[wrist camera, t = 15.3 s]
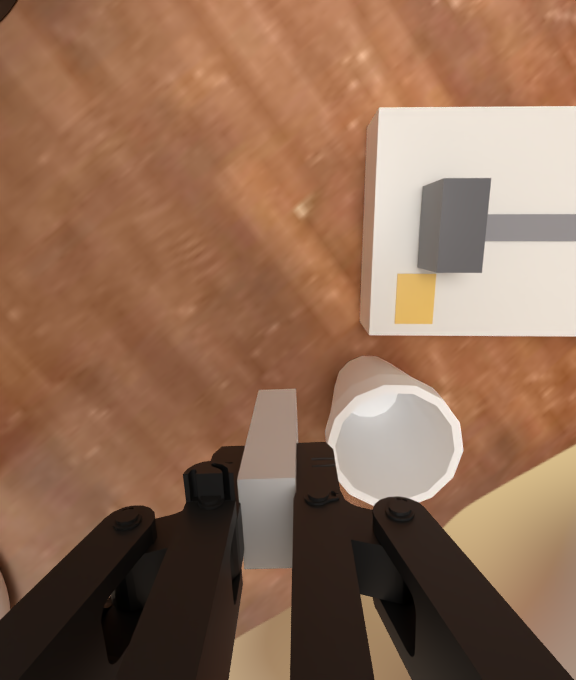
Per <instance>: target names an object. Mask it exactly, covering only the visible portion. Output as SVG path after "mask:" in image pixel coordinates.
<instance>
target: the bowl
mask: <svg viewBox="0 0 576 680" xmlns="http://www.w3.org/2000/svg"><path fill="white" fill-rule="evenodd" d="M9 611H10V602H9V596H8V592H7V588H6V585H5V581H4V579H3V576H2V574H1V571H0V619H2V618H3V617H4V616H5V615H6V614H7V613H8V612H9Z"/></svg>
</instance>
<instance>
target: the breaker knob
mask: <svg viewBox="0 0 576 680" xmlns="http://www.w3.org/2000/svg"><path fill="white" fill-rule="evenodd" d="M490 187H491V178H443V179H441V180H438V181H435V182H433V183H430V184H428V185H425V186H423V191H422V206H421V221H420V236H419V251H418V266H417V268H421V269H425V270H428V271H432V272H436V273H482V267H483V257H484V247H485V237H486V227H487V217H488V207H489V197H490Z"/></svg>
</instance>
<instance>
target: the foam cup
mask: <svg viewBox="0 0 576 680" xmlns="http://www.w3.org/2000/svg"><path fill="white" fill-rule="evenodd" d="M325 437H326V443H327V444H328V445H329V446H330V447H331V448H333V451H334V457H335V463H336V469H337V475H338V481H339V482H340V483H341V485H342V486H343V487H344V488H345V490H346V491H347V492H348V493H349V494H350V495H352V496H354V497H356V498H358V499H360V500H362V501H364V502H366V503H369V504H371V505H373V506H374V504H375V503H377V502H378V501H379V500H380V499H383V498H387V497H396V496H399V497H405V498H409V499H412V500H414V501H417V502H421V501H424V500H426V499H429V498H432V497H433V496H434V495H435V494H436V493H437V492H438V491H439V490H440V489H441V488H442V487H443V486H445V485H446V484H447V483H448V482H449V481H450V480H451V479H452V478H453V476H454V474H455V471H456V469H457V466H458V463H459V461H460V458H461V456H462V453H463V444H462V436H461V427H460V422H459V421H458V420H457V418H456V417H455V415H454V414H453V413H452V411H451V410H450V408H449V407H448V406H447V404H446V403H445V401H444V400H443V399H442V398H441V397H440V395H439V394H438V393H437V392H436V391H435V390H434V388H432V387H430V386H428V385H426V384H424V383H422V382H420V381H418V380H417V379H415V378H413V377H411V376H409V375H408V374H406V373H405V372H403V371H402V370H400V369H399V368H397V367H395V366H394V365H392V364H391V363H389V362H387V361H385V360H383V359H381V358H379V357H377V356H360V357H358V358H356V359H353V360H351V361H348V363H347V364H346V365H345V366H344V367H343V368H342V369H341V370H340V371H339V373H338V377H337V380H336V383H335V387H334V393H333V399H332V406H331V412H330V416H329V419H328V422H327V426H326V429H325Z"/></svg>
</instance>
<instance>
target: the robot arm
mask: <svg viewBox="0 0 576 680" xmlns="http://www.w3.org/2000/svg"><path fill="white" fill-rule="evenodd" d="M15 1H16V0H0V20H1V19H2V18H3V17H4V16H5V15H6V14H7V13H8V11H9V10H10V9H11V7H12V6H13V5H14V3H15ZM183 478H184V487H185V496H186V504H185V506H184V509H183V511H181V512H179V513H176V514H173V515H169V516H165V517H161V518H157V519H155V514H154V511H153V510H152V509H151V508H149V507H145V506H129V507H124V508H122V509H119V510H117V511H115V512H113V513H111V514H110V515H109V516H107V517H106V518H105V519H104V520H103V521H102V522H101V523H100V524H99V525H97V526H96V527H95V528H94V529H93V530H92V531H91V532H90V533H89V534H88V535H87V536H86V537H85V538H84V539H83V540H82V541H81V542H80V543H79V544H78V545H77V546H76V547H75V548H74V549H73V550H72V551H71V552H70V553H69V554H68V555H67V556H66V557H64V558H63V559H62V560H61V561H60V562H59V563H58V564H57V565H56V566H55V567H54V568H53V569H52V570H51V571H50V572H49V573H48V574H47V575H46V576H45V577H44V578H43V579H42V580H41V581H40V582H39V583H38V584H37V585H36V586H35V587H34V588H32V589H31V590H30V591H29V592H28V593H27V594H26V595H25V596H24V597H23V598H22V599H21V600H20V601H19V602H18V603H17V604H16V605H15V606H14V607H13V608H12V609H11V610H10V611H9V612H8V613H7V614H6V615H5V616H4V617H3V618H2V619H0V680H228V679H229V672H230V665H231V659H232V652H233V645H234V639H235V632H236V626H237V619H238V612H239V606H240V599H241V592H242V586H243V581H242V569H241V567H242V561H243V557H244V569H271V568H292V607H291V664H290V680H374V674H373V668H372V662H371V656H370V651H369V644H368V639H367V633H366V627H365V621H364V615H363V609H362V603H361V598H360V594H362V595H366V596H370V597H373V601H374V605H375V608H376V609H377V611H378V614H379V615H380V617H381V619H382V622H383V623H384V625H385V627H386V629H387V631H388V633H389V635H390V637H391V639H392V641H393V643H394V645H395V647H396V649H397V651H398V653H399V655H400V657H401V659H402V661H403V663H404V665H405V667H406V669H407V670H408V673H409V675H410V677H411V679H412V680H574V679H573V678H572V677H571V676H570V675H569V673H568V672H567V671H566V670H565V669H564V668H563V667H562V665H561V664H560V663H559V662H558V661H557V660H556V658H555V657H554V656H553V655H552V654H551V653H550V651H549V650H548V649H547V648H546V647H545V646H544V645H543V643H542V642H541V641H540V640H539V639H538V638H537V637H536V635H535V634H534V633H533V632H532V631H531V630H530V628H529V627H528V626H527V625H526V624H525V623H524V622H523V620H522V619H521V618H520V617H519V616H518V615H517V613H516V612H515V611H514V610H513V609H512V608H511V607H510V605H509V604H508V603H507V602H506V601H505V600H504V598H503V597H502V596H501V595H500V594H499V593H498V592H497V591H496V589H495V588H494V587H493V586H492V585H491V584H490V582H489V581H488V580H487V579H486V578H485V577H484V575H483V574H482V573H481V572H480V571H479V570H478V569H477V567H476V566H475V565H474V564H473V563H472V562H471V560H470V559H469V558H468V557H467V556H466V555H465V554H464V552H462V550H461V549H460V548H459V547H458V546H457V544H456V543H455V542H454V541H453V540H452V539H451V538H450V536H449V535H448V534H447V533H446V532H445V531H444V529H443V528H442V527H441V526H440V525H439V524H438V522H437V521H436V520H435V519H434V518H433V517H432V516H431V514H430V513H429V512H428V511H427V510H426V509H425V508H424V507H423V506H422V505H421V504H420V503H418V502H417V501H414V500H412V499H409V498H405V497H399V496H396V497H387V498H383V499H380V500H379V501H378V502H377V503H375V504H374V507H373V510H370V509H365V508H361V507H357V506H355V505H353V504H350V503H349V502H347V501H346V500H345V499H344V497H343V495H342V493H341V491H340V487H339V481H338V475H337V469H336V463H335V457H334V451H333V448H331V447H330V446H329V445H328V444H327V443H326V442H311V443H298V424H297V401H296V389H274V390H259V391H258V395H257V399H256V403H255V407H254V411H253V416H252V420H251V424H250V428H249V432H248V436H247V440H246V445H245V446H225V447H221V448H220V449H219V450H218V451H216V452H215V453H214V454H213V456H212V459H211V461H207V462H202V463H199V464H196V465H193V466H192V467H190V468H188V469H187V470H186V471H185V473H184V474H183ZM110 595H111V596H110ZM109 596H110V598H109ZM108 598H109V599H108Z"/></svg>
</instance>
